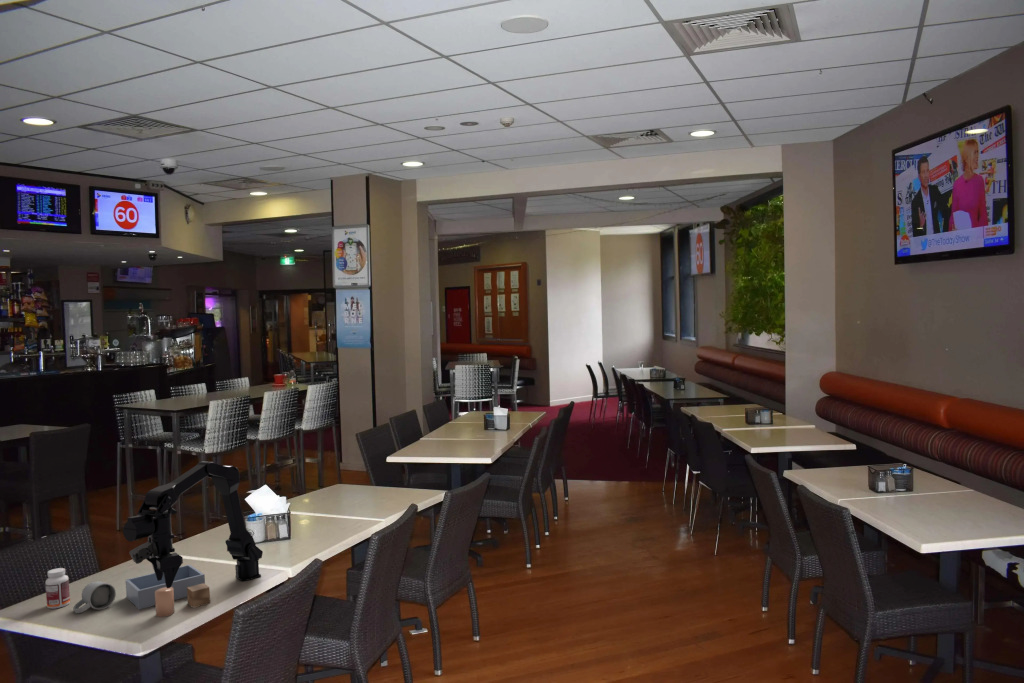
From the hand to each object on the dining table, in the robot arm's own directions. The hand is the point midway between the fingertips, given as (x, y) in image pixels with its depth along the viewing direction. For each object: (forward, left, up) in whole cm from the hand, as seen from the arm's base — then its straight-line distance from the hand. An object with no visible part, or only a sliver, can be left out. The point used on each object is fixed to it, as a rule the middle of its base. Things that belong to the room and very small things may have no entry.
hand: (164, 583), depth 217 cm
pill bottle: (+22, -33, -9) cm, 41 cm away
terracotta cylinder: (0, 0, -9) cm, 9 cm away
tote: (-5, -17, -9) cm, 20 cm away
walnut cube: (-10, -1, -9) cm, 13 cm away
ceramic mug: (+15, -22, -9) cm, 28 cm away
